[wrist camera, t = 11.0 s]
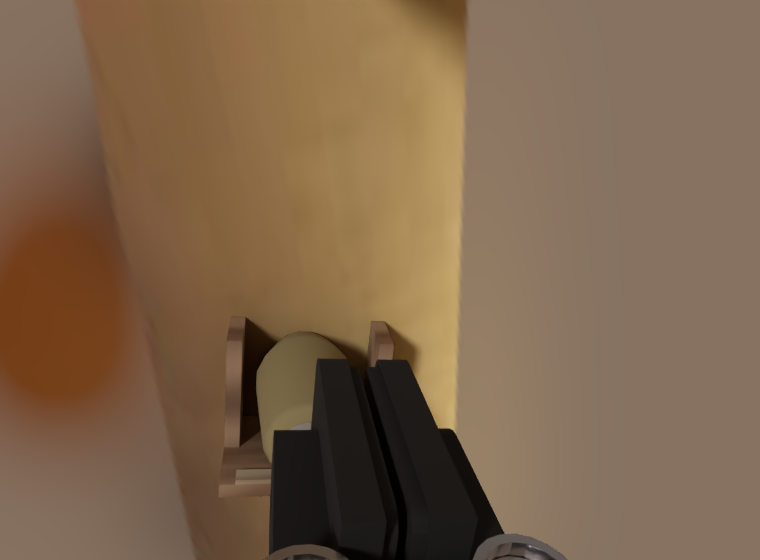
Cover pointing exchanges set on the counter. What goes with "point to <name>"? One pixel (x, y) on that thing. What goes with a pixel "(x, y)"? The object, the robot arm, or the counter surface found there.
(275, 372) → the squeeze bottle
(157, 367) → the counter surface
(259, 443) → the walnut holder
